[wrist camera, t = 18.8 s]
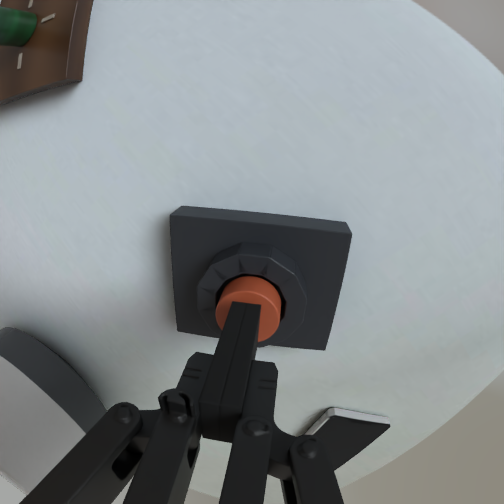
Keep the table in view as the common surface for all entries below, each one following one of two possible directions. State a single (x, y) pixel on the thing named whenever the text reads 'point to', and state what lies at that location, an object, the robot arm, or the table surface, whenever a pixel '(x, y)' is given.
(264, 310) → the button
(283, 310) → the button box
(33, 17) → the dial knob
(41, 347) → the planter
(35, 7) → the dial base
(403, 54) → the table surface
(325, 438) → the smartphone
